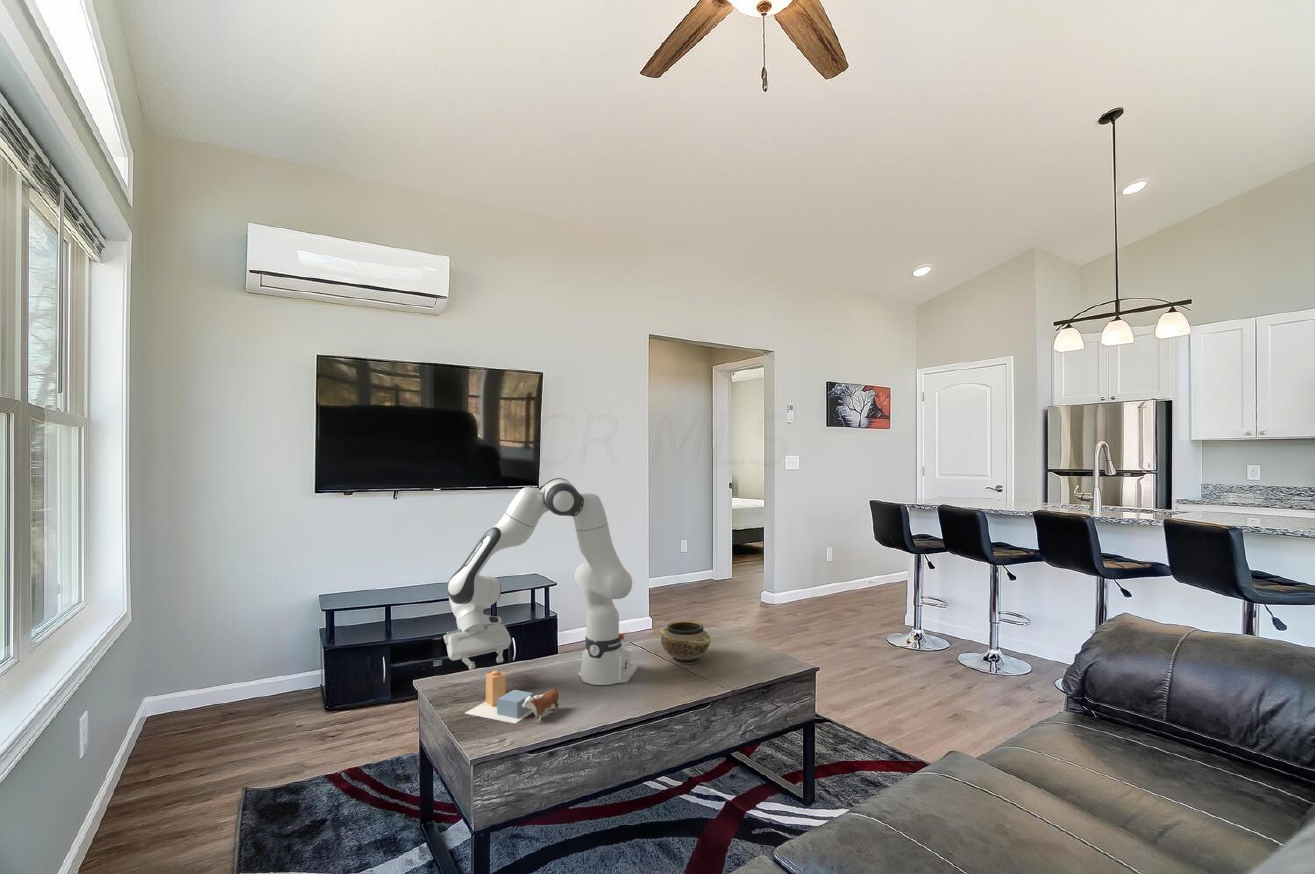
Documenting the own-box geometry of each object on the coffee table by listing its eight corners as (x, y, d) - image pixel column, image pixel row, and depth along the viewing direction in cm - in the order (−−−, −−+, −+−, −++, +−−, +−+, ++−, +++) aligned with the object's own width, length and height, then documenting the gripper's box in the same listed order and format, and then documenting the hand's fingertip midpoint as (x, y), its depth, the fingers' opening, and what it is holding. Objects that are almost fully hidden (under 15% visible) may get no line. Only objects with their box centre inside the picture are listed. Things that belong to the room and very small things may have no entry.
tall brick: (485, 702, 195) (485, 671, 195) (498, 698, 198) (498, 668, 198) (492, 706, 191) (492, 675, 192) (505, 702, 194) (505, 671, 194)
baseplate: (500, 696, 202) (500, 693, 202) (548, 705, 195) (548, 701, 195) (464, 716, 187) (464, 713, 187) (515, 727, 179) (515, 723, 179)
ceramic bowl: (652, 662, 243) (644, 625, 242) (688, 642, 253) (680, 607, 251) (691, 681, 223) (683, 641, 221) (729, 659, 233) (721, 620, 231)
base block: (513, 704, 193) (513, 689, 193) (533, 708, 190) (533, 693, 190) (497, 714, 186) (497, 698, 186) (517, 718, 183) (517, 702, 183)
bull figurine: (519, 725, 180) (519, 696, 180) (552, 710, 191) (552, 682, 192) (530, 729, 178) (530, 700, 178) (563, 713, 189) (563, 685, 189)
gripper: (444, 627, 198) (457, 666, 191) (504, 616, 212) (519, 652, 204) (439, 638, 202) (451, 678, 194) (498, 627, 215) (512, 663, 207)
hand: (486, 665), depth 199 cm, fingers open, 8 cm apart
